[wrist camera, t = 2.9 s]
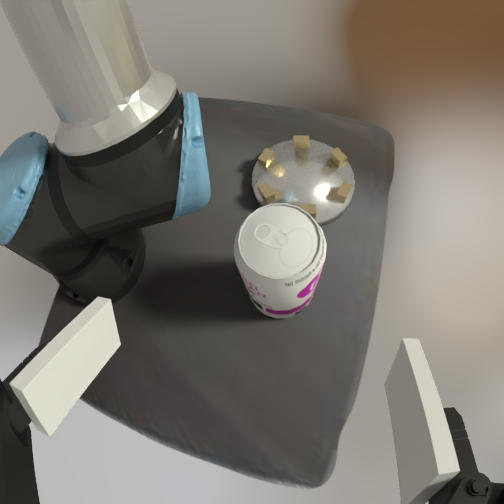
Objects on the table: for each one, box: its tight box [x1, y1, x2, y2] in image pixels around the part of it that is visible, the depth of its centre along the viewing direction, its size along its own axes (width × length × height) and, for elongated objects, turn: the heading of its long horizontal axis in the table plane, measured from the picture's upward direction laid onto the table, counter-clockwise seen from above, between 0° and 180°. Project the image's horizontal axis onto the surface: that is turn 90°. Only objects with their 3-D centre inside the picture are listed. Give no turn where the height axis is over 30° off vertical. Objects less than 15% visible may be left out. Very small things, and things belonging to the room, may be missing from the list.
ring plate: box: [252, 136, 355, 226], centre depth 45 cm, size 15×15×3 cm
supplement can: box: [233, 203, 326, 319], centre depth 33 cm, size 8×8×15 cm
